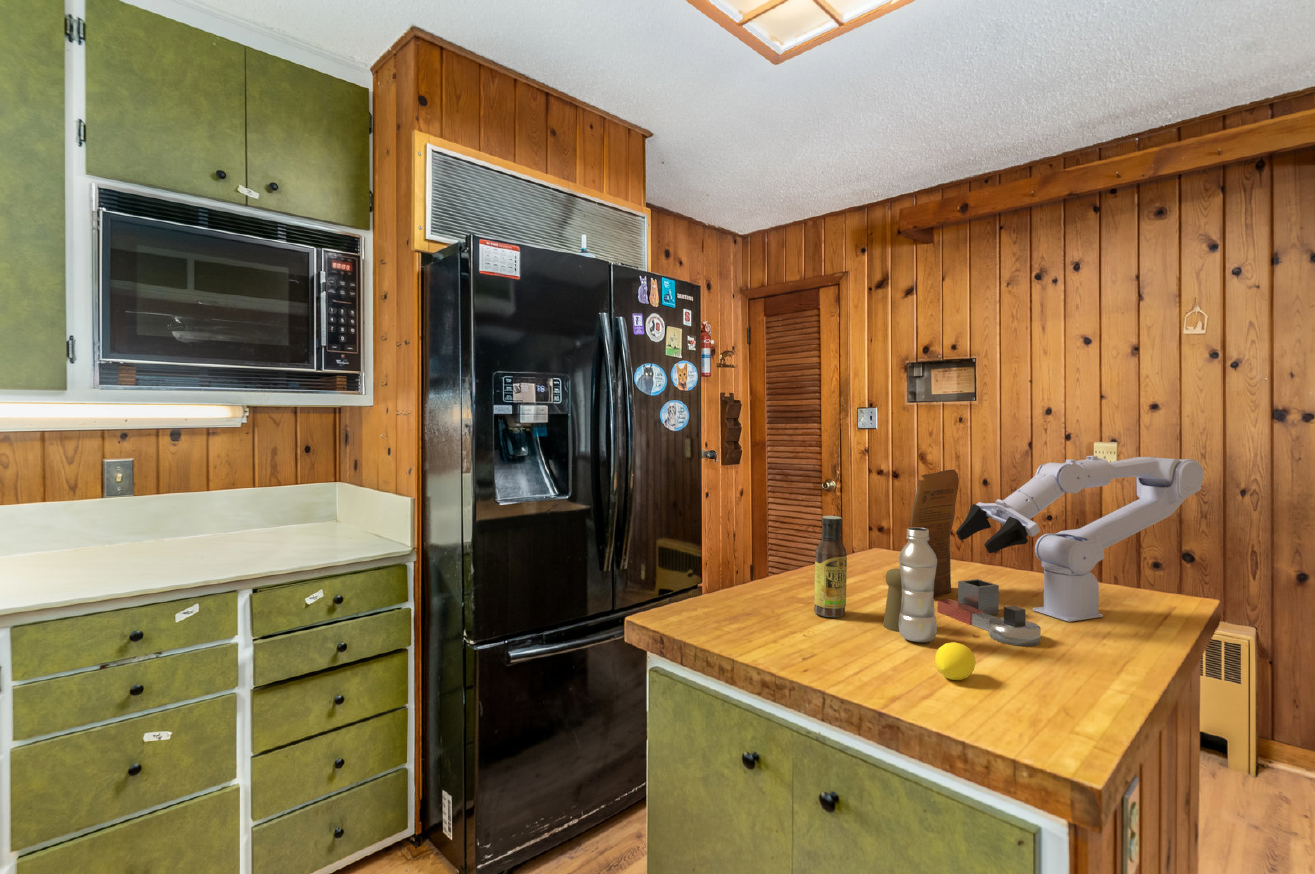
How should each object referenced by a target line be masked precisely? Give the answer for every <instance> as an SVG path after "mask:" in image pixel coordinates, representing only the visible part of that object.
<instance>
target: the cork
mask: <svg viewBox="0 0 1315 874" xmlns="http://www.w3.org/2000/svg"><path fill="white" fill-rule="evenodd" d="M885 583H886V584H887V586H888V589H887V597H886V603H885V609H884V616H883V624H882V626H883V628H885V629H886V628H887V630H888V631H893V632H897V633H900V632H899V626H898V622H899V615H900V612H901V601H902V582H901V572H900V568H892V569H891V568H890V569H888V570H887V571H886V573H885Z"/></svg>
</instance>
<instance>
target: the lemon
mask: <svg viewBox="0 0 1315 874" xmlns="http://www.w3.org/2000/svg"><path fill="white" fill-rule="evenodd" d="M934 656H935V660H934V661H935V663H934V664H935V666H936V669H937V671H938V672H939V673H940V674H942V675H943V677H944V678H945V679H948V680H951V681H962V680H964V679H966V678H967V679H968V677H970V675H971V674H972V673H973V672H974V671H975V666H976V663H977V661H976V658H975V655H974V653H973V651H972V650H971V648H969V647H968V646H966V645H964V644H963V643H958V642H955V641H951V642H946V643H944V644H942V645H941V646H939V648H938V649H937V650H936V653H935V655H934Z"/></svg>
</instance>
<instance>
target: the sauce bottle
mask: <svg viewBox="0 0 1315 874" xmlns="http://www.w3.org/2000/svg"><path fill="white" fill-rule="evenodd" d="M821 525H822V528H821V529H822V531H821V540H820V541H819V543H818V544H817V546H816V549H815V561H814V594H813V604H814V607H813V608H814V613H815V614H817V615H819V616H821V617H825V618H840V617H843V616H845V615H846V606H847V568H848V567H847V565H848V558H847V549H846V547H845V546H844V544H843V542H842V525H843V517H841V516H836V515H823V516H821Z"/></svg>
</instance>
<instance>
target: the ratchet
mask: <svg viewBox="0 0 1315 874" xmlns="http://www.w3.org/2000/svg"><path fill="white" fill-rule="evenodd" d="M1026 611H1027V609H1026V608H1022V607H1020V606H1017V605H1008V606H1003V617H998V616H996V615H993V616H992V615H989V614H986V613H984V612H983V611H982V610H979V609H976V608H974V607H971V606H968V605H965V604H962V603H959V602H958V600H953V599H951V598H946V599H938V600H937V613H939V614H941V615H944V614H946V615H945V616H947V615H948V616H947V617H949V616H950V618H952V619H955V620H957V619H958V620H957V621H960V622H962V623H965V624H967V623H968V624H967V625H971V626H974V627H977V628H979V629H981V628H982V630H985V631H986V630H987V632H988V633H989V634H988V635H989V637H990V638H991V639H992V638H993V639H992V640H994V641H996V640H997V642H999V643H1001V642H1003V643H1002V644H1005V643H1007V644H1006V645H1009V644H1011V646H1015V645H1016V646H1018V647H1036V646H1039V645H1040V644H1041V638H1042V636H1041V634H1042V632H1041V631H1042V630H1041V626H1040V625H1039V624H1037V623H1034V622H1032V621H1029V620H1026Z"/></svg>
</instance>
